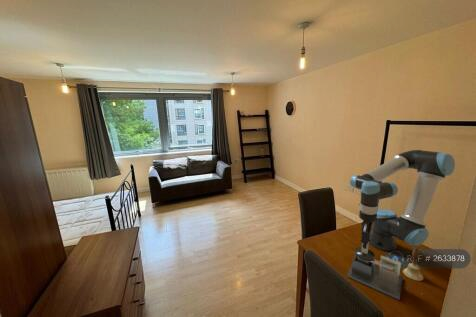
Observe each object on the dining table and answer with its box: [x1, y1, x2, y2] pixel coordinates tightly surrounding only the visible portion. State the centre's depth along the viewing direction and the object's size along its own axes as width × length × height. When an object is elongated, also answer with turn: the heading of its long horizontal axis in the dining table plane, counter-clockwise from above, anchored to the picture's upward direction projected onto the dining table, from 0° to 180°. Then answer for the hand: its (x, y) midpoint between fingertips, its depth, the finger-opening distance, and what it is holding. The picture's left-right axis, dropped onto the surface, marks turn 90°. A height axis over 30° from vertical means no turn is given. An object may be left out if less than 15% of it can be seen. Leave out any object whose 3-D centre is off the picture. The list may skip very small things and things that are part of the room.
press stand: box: [346, 254, 403, 301], centre depth 103 cm, size 16×22×14 cm
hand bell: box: [402, 246, 424, 282], centre depth 104 cm, size 8×8×16 cm
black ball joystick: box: [354, 246, 393, 270], centre depth 104 cm, size 9×17×9 cm, turn 47°
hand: (364, 252), depth 106 cm, fingers closed
